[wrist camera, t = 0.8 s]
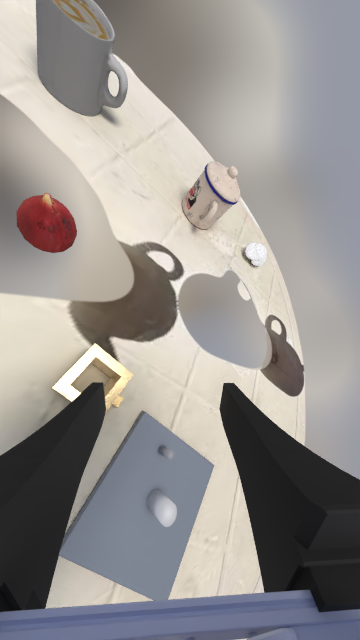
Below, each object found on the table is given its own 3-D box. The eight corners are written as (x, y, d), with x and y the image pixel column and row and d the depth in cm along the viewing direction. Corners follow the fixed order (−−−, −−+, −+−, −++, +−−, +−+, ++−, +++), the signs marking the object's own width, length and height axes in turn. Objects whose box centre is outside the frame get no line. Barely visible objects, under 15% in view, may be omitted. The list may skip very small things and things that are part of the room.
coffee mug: (22, 68, 31) (15, -41, 23) (61, 60, 36) (66, -33, 28) (99, 139, 36) (114, 69, 28) (124, 123, 41) (143, 59, 33)
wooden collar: (101, 423, 24) (111, 429, 20) (51, 387, 22) (52, 387, 18) (130, 383, 27) (143, 382, 23) (88, 349, 25) (95, 343, 22)
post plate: (161, 598, 22) (183, 638, 19) (57, 548, 19) (59, 585, 15) (209, 463, 30) (231, 473, 26) (142, 411, 27) (157, 414, 23)
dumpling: (257, 257, 56) (269, 249, 53) (257, 271, 54) (270, 264, 51) (240, 244, 53) (252, 235, 50) (239, 259, 51) (252, 251, 47)
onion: (82, 248, 28) (92, 208, 22) (51, 272, 25) (52, 233, 19) (45, 217, 27) (45, 164, 20) (7, 238, 24) (-7, 183, 17)
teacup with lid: (184, 189, 46) (219, 139, 37) (213, 212, 50) (251, 173, 40) (174, 223, 41) (212, 175, 31) (207, 247, 45) (250, 210, 35)
